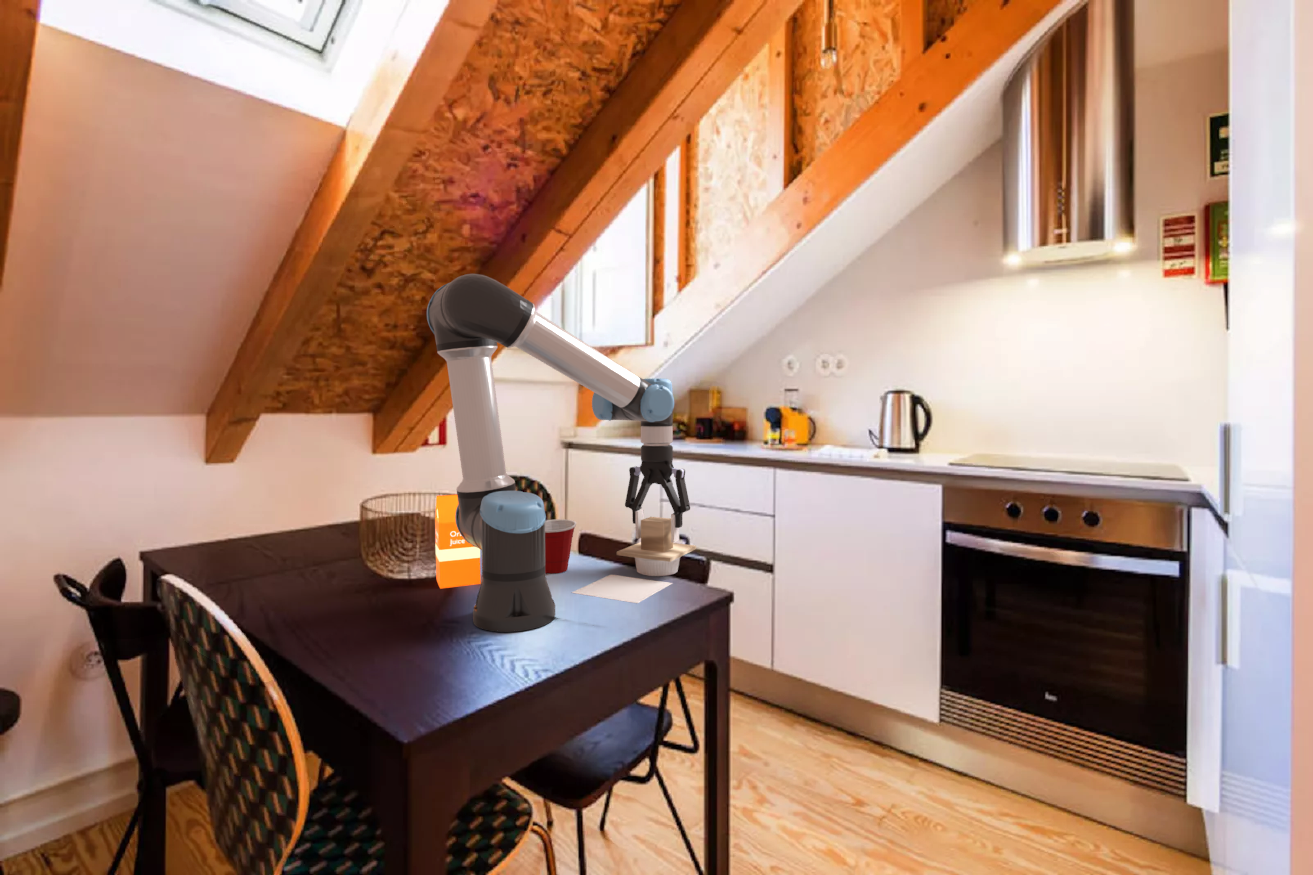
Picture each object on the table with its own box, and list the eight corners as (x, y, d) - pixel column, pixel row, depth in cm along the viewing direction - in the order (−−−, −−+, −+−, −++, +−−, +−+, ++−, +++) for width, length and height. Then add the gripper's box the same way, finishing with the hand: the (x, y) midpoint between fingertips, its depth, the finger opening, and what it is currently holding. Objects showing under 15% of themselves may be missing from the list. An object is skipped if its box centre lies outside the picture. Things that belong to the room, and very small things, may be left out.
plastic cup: (521, 575, 153) (520, 524, 152) (550, 565, 162) (549, 517, 162) (558, 581, 148) (557, 529, 147) (586, 570, 157) (585, 521, 156)
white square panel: (637, 606, 130) (637, 603, 130) (571, 595, 137) (571, 592, 137) (672, 585, 144) (672, 583, 144) (610, 577, 151) (610, 574, 151)
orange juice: (480, 584, 146) (479, 495, 145) (439, 588, 142) (437, 498, 141) (475, 575, 153) (473, 491, 152) (435, 579, 149) (433, 493, 148)
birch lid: (670, 561, 145) (670, 527, 145) (616, 555, 152) (616, 521, 151) (696, 548, 157) (696, 516, 157) (645, 543, 164) (645, 512, 163)
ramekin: (685, 569, 159) (685, 547, 158) (675, 581, 148) (675, 558, 148) (641, 566, 162) (641, 545, 161) (628, 578, 151) (627, 555, 150)
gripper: (705, 444, 151) (705, 540, 153) (625, 442, 161) (625, 532, 162) (691, 446, 145) (692, 546, 146) (609, 444, 155) (610, 538, 156)
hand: (657, 539), depth 154 cm, fingers open, 9 cm apart
